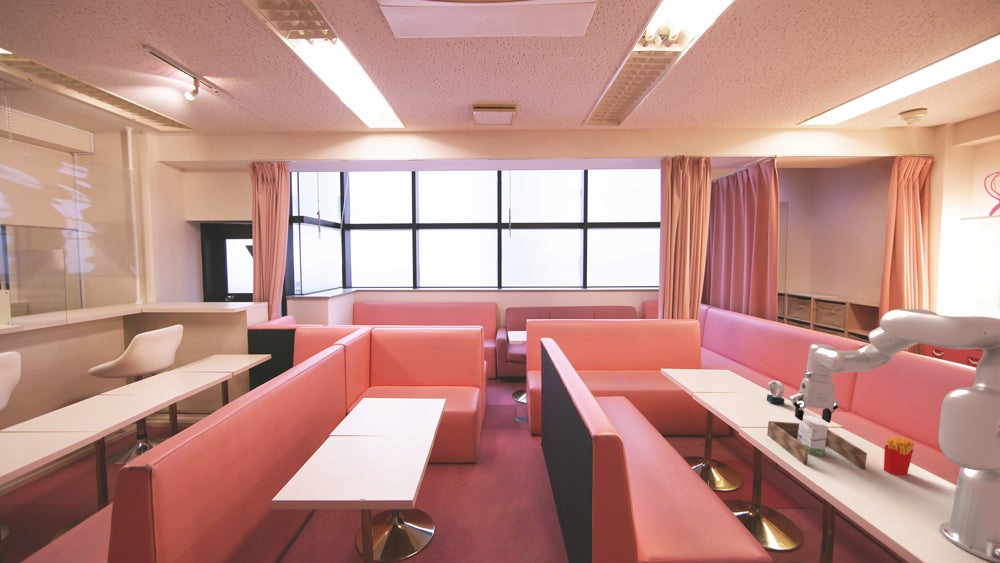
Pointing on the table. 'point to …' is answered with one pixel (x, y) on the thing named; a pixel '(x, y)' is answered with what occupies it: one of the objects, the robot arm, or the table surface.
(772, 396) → the watch
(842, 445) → the brown wooden angled piece
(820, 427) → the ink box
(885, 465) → the french fries
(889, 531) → the table surface
